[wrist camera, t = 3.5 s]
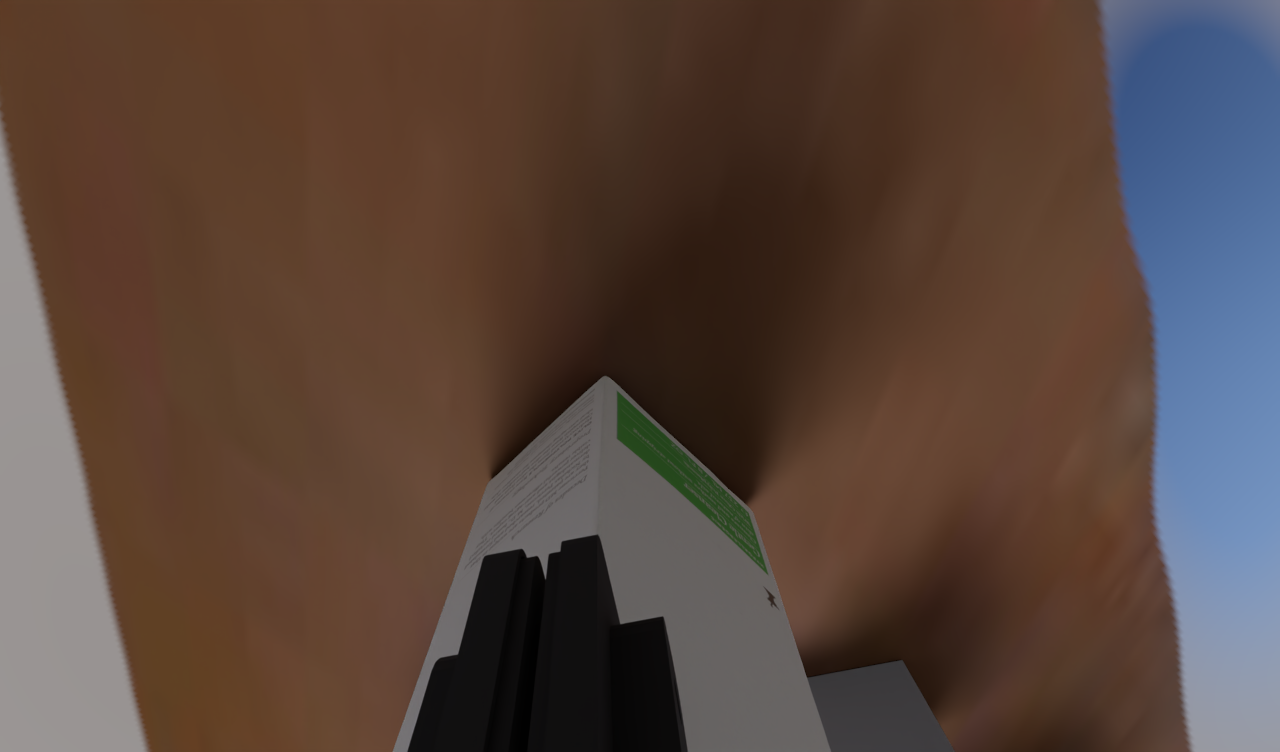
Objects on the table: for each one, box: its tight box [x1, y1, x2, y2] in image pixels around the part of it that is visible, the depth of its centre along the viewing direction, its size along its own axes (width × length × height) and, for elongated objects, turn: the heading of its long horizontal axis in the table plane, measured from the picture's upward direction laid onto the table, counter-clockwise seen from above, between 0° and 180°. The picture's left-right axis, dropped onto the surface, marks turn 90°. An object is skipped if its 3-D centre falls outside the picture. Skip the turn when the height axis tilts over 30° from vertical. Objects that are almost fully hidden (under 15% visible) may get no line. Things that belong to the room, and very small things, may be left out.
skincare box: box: [393, 376, 831, 752], centre depth 18 cm, size 8×7×16 cm
